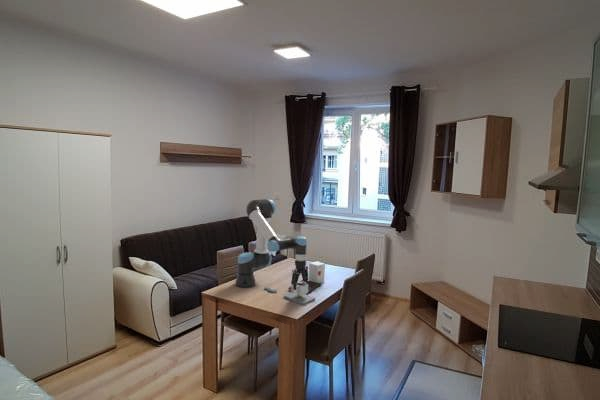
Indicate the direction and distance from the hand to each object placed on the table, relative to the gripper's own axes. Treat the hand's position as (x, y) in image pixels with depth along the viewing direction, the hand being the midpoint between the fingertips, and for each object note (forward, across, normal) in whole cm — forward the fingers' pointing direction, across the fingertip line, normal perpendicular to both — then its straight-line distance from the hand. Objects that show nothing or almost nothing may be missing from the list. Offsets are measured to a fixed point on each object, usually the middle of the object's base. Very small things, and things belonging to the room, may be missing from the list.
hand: (299, 292), depth 232 cm
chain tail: (+5, -4, +25) cm, 26 cm away
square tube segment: (0, 0, 0) cm, 0 cm away
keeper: (+5, 0, 0) cm, 5 cm away
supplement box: (+5, +36, +14) cm, 39 cm away
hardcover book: (+5, +19, +11) cm, 23 cm away
